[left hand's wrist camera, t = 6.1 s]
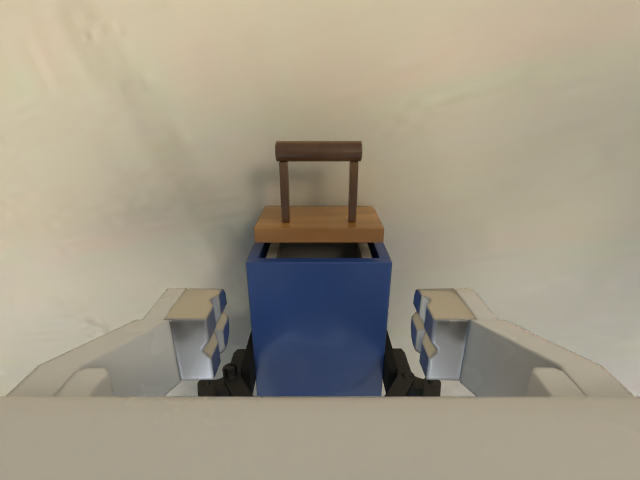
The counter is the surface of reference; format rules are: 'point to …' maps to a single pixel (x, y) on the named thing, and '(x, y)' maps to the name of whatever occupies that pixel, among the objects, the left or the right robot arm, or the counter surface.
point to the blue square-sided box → (319, 323)
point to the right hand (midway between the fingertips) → (319, 331)
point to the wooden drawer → (318, 210)
